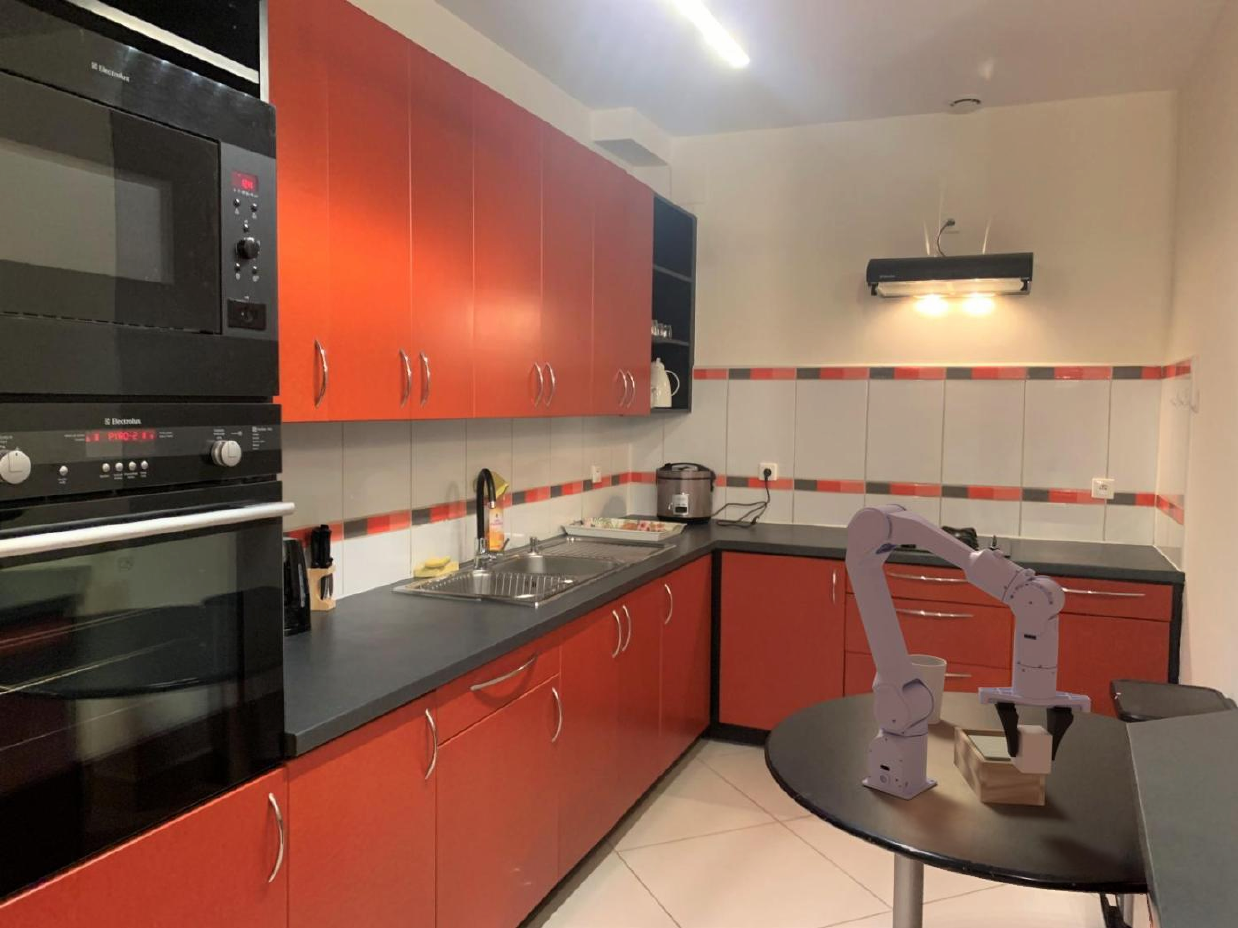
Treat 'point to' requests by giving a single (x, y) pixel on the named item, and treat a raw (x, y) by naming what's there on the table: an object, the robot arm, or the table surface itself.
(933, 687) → the cup
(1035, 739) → the pinkish beige block
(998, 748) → the pale grey flat block
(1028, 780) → the box
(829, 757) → the table surface
